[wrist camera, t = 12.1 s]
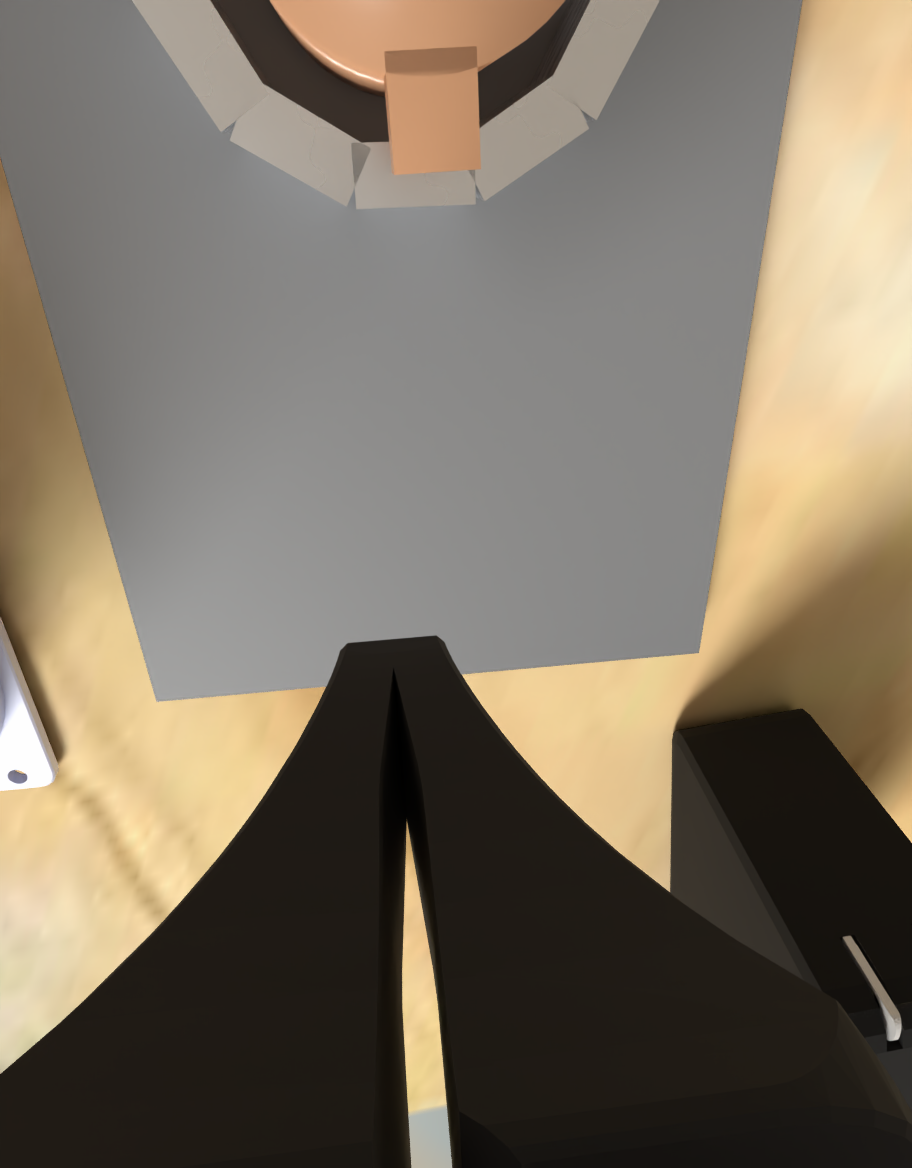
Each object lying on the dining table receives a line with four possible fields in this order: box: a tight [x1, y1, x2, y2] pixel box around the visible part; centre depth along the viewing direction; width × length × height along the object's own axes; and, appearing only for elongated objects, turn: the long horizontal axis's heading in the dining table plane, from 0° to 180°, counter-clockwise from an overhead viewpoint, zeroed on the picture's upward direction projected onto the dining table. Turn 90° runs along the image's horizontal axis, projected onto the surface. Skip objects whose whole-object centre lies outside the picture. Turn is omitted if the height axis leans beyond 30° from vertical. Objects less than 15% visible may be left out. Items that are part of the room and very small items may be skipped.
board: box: [0, 0, 802, 702], centre depth 16 cm, size 15×22×1 cm
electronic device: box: [670, 709, 912, 1112], centre depth 22 cm, size 4×10×10 cm, turn 8°
